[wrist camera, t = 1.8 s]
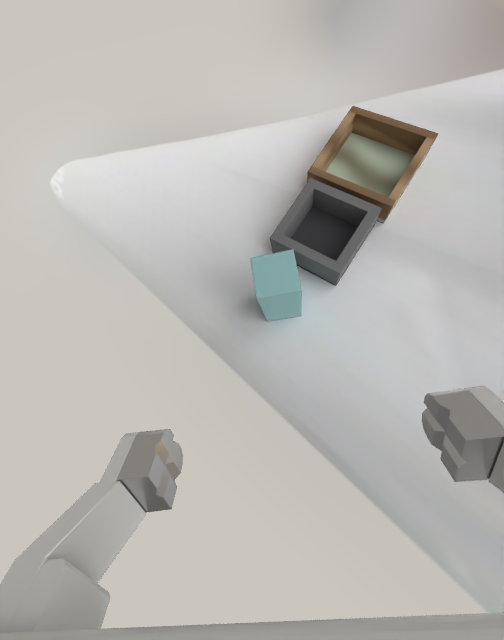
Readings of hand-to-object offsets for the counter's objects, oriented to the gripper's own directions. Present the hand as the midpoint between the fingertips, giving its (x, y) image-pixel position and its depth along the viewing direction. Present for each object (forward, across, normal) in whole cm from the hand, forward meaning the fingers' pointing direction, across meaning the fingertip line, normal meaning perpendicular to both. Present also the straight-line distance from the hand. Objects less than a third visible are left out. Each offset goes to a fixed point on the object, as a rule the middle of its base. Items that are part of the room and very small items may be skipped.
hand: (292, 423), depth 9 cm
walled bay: (+39, -15, -2) cm, 42 cm away
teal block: (+27, 0, +10) cm, 29 cm away
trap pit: (+33, -7, +4) cm, 34 cm away
